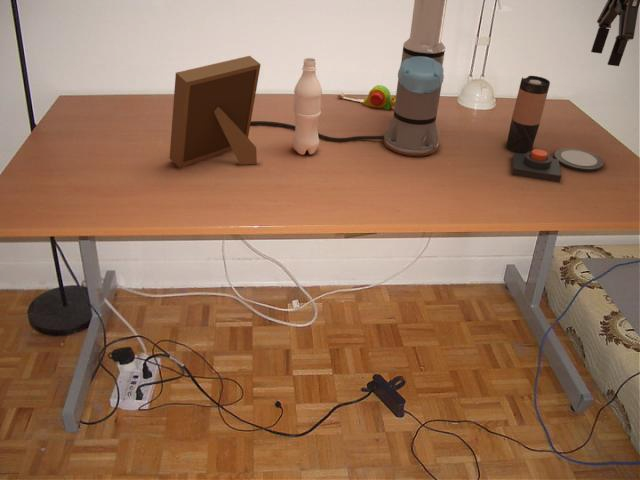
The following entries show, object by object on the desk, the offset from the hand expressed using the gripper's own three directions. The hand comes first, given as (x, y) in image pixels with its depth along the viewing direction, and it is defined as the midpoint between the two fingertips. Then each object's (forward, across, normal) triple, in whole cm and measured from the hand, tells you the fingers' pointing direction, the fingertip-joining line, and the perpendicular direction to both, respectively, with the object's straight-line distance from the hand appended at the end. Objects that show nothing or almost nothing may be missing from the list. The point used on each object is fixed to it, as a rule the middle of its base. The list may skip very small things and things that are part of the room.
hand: (604, 58), depth 170 cm
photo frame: (+34, -23, +96) cm, 105 cm away
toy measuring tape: (+28, +24, +59) cm, 70 cm away
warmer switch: (+28, -14, +14) cm, 34 cm away
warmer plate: (+27, -6, 0) cm, 28 cm away
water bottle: (+32, -13, +76) cm, 83 cm away
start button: (+25, -14, +14) cm, 32 cm away
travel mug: (+28, -1, +16) cm, 32 cm away
